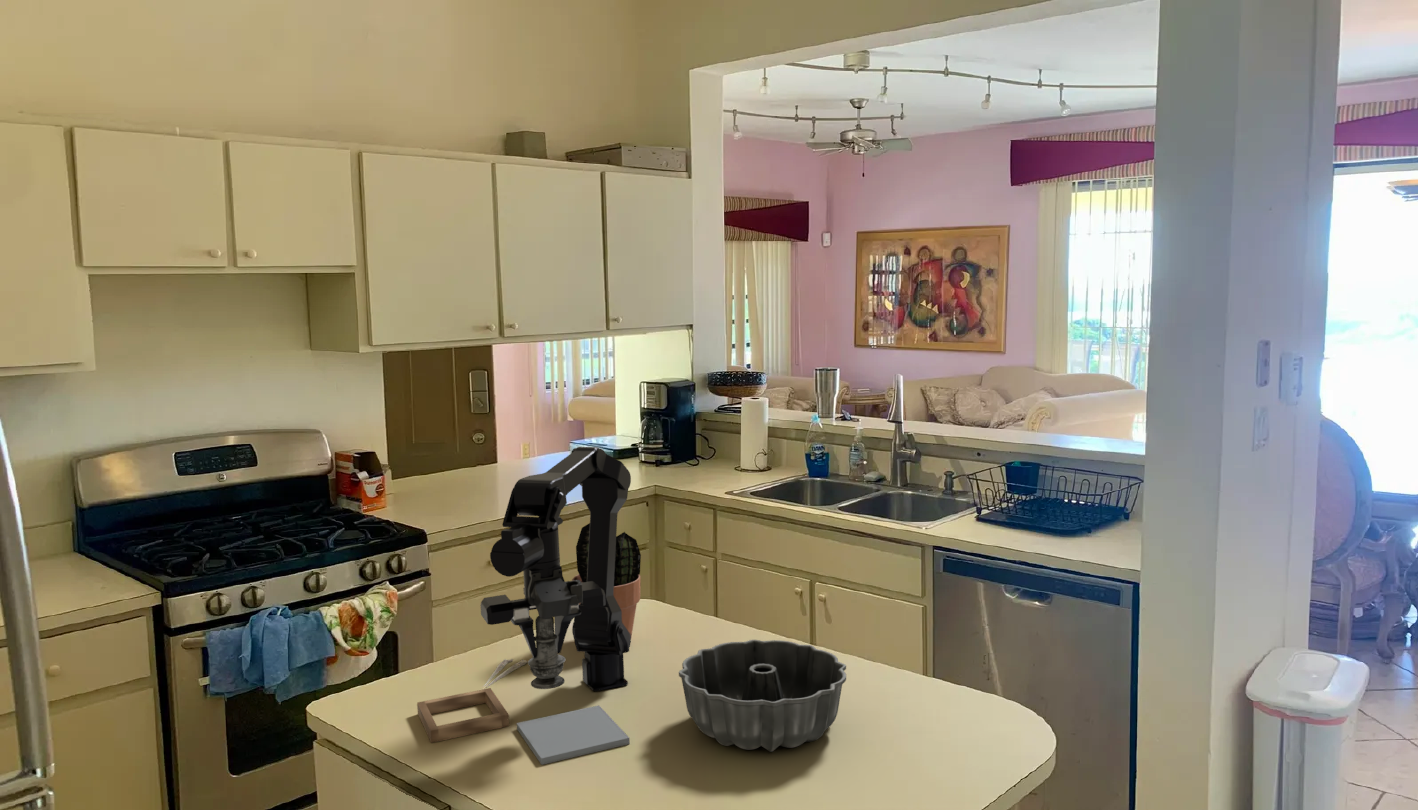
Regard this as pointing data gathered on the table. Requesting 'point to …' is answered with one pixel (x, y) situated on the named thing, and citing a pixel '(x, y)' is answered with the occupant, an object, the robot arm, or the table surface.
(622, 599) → the potted plant
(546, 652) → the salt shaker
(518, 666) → the tweezers
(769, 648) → the bundt pan
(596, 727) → the grey mat
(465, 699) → the frame
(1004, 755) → the table surface
